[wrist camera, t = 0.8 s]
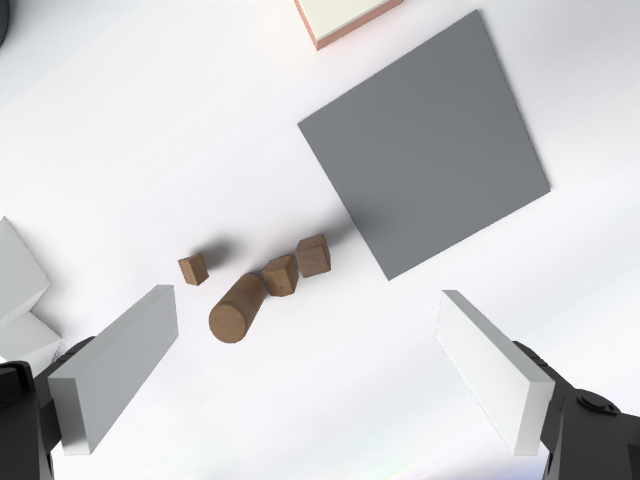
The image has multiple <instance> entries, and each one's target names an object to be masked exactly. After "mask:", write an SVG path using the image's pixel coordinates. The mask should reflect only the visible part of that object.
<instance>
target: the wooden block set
mask: <svg viewBox="0 0 640 480" xmlns="http://www.w3.org/2000/svg"><path fill="white" fill-rule="evenodd" d="M295 255H296V258H297V261H298V264H299V268H300V271H301V274H302V276H303V278H307V277H311V276H314V275H318V274H321V273H325V272H328V271H330V270H331V264H330V253H329V250H328V247H327V243H326V240H325V236H324V235H323V234H320V235H317V236H313V237H310V238H306V239H303V240H301V241H300V242H299V244H298V246H297V249H296V251H295ZM178 263H179V265H180V268H181V270H182V273H183V275H184V278H185V281H186V283H187V284H192V285H196V286H199V285H200V284H201V283H202V282H204V281H205V280H206V279H207V278H208V277H209V275H208V272H207V270H206V267H205V264H204V262H203V259H202V256H201V254H198V255H194V256H191V257H188V258H184V259H181V260H178ZM262 273H263V276H264V279H265V282H266V285H267V288H268V291H269V294H270V295H271V296H279V297H283V296H287V295H290V294H293V293H294V292H295V288H296V285H297V281H298V278H299V275H298V271H297V268H296V265H295V262H294V259H293V256H292V255H288V256H285V257H281V258H278V259H274V260H271V261H269V263H268V264H267V265H266V267H265V268H264V270H263V271H262ZM265 296H266V286H265V284H264V282H263V281H262V280H261V279H260V278H259V277H258V276H256V275H253V274H245V275H243V276H241V278H240V279H239V280H238V281H237V282H236V283H235V284H234V285H233V286H232V288H231V289H230V290H229V291H228V292H227V293H226V294H225V295H224V297H223V298H222V299H221V300H220V301H219V302H218V303H217V304H216V306H215V307H214V308H213V309H212V310H211V312H210V315H209V326H210V330H211V331H212V333H213V335H214V336H215V337H216V338H217V339H218V340H220V341H222V342H225V343H236V342H238V341H240V340H242V339H243V338H244V337H245V335H246V333H247V331H248V329H249V327H250V326H251V324H252V322H253V320H254V318H255V316H256V314H257V312H258V310H259V308H260V306H261V305H262V303H263V301H264V299H265Z"/></svg>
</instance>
